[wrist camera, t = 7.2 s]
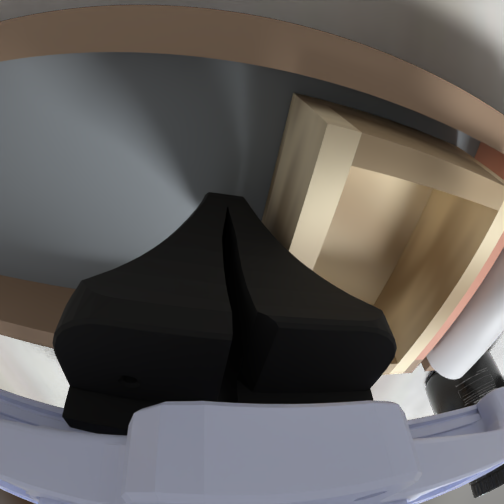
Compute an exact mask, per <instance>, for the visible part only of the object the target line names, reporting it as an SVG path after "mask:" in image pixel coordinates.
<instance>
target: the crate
mask: <svg viewBox="0 0 504 504" xmlns="http://www.w3.org/2000/svg"><path fill="white" fill-rule="evenodd" d="M261 222H262V223H263V224H264V225H265V227H266V228H267V229H268V230H269V231H270V232H271V234H272V235H273V236H274V237H275V238H276V239H277V240H278V241H279V242H280V243H281V244H282V245H283V246H284V247H285V248H286V249H287V250H288V251H289V252H290V253H291V254H293V255H294V256H295V257H296V258H297V259H298V260H299V261H301V262H302V263H303V264H304V265H306V266H307V267H308V268H310V269H311V270H312V271H314V272H315V273H316V274H318V275H319V276H321V277H322V278H324V279H325V280H327V281H328V282H330V283H331V284H333V285H335V286H336V287H338V288H340V289H341V290H343V291H345V292H346V293H348V294H350V295H352V296H354V297H356V298H358V299H360V300H362V301H364V302H366V303H368V304H370V305H372V306H374V307H376V308H378V309H381V310H382V311H383V313H384V315H385V317H386V320H387V322H388V324H389V326H390V329H391V331H392V333H393V336H394V338H395V341H396V346H397V349H396V353H395V357H394V359H393V360H392V362H391V363H390V365H389V366H388V368H387V369H386V370H385V372H384V373H383V374H382V375H387V374H401V373H404V372H405V371H406V369H407V368H408V367H409V366H410V365H411V364H412V363H413V361H414V360H415V359H416V358H417V357H418V355H419V354H420V353H421V352H422V351H423V349H424V348H425V347H426V346H427V345H428V343H429V342H430V341H431V340H432V338H433V337H434V336H435V334H436V333H437V332H438V331H439V329H440V328H441V327H442V325H443V324H444V323H445V321H446V320H447V319H448V317H449V316H450V315H451V313H452V312H453V311H454V309H455V308H456V306H457V305H458V304H459V302H460V301H461V299H462V298H463V296H464V295H465V293H466V292H467V290H468V289H469V288H470V286H471V284H472V283H473V281H474V280H475V278H476V277H477V275H478V274H479V272H480V271H481V269H482V267H483V266H484V264H485V262H486V261H487V259H488V258H489V256H490V254H491V252H492V251H493V249H494V247H495V246H496V244H497V242H498V240H499V239H500V237H501V235H502V233H503V231H504V180H503V179H502V178H500V177H499V176H498V175H497V174H495V173H494V172H493V171H491V170H490V169H489V168H487V167H486V166H485V165H483V164H482V163H480V162H479V161H478V160H476V159H475V158H473V157H472V156H471V155H469V154H468V153H466V152H465V151H463V150H462V149H460V148H459V147H457V146H455V145H453V144H450V143H448V142H446V141H443V140H441V139H439V138H436V137H434V136H431V135H429V134H426V133H424V132H421V131H419V130H416V129H413V128H411V127H408V126H405V125H403V124H400V123H397V122H394V121H391V120H388V119H385V118H382V117H379V116H376V115H373V114H370V113H367V112H364V111H361V110H357V109H354V108H351V107H347V106H344V105H340V104H337V103H333V102H329V101H325V100H322V99H318V98H314V97H310V96H306V95H301V94H297V93H293V96H292V100H291V104H290V108H289V112H288V116H287V120H286V124H285V128H284V132H283V136H282V140H281V144H280V149H279V153H278V157H277V161H276V165H275V169H274V173H273V177H272V181H271V185H270V189H269V193H268V197H267V201H266V205H265V209H264V213H263V217H262V221H261Z"/></svg>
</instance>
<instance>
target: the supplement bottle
mask: <svg viewBox="0 0 504 504" xmlns="http://www.w3.org/2000/svg"><path fill="white" fill-rule="evenodd" d="M501 387H504V379H503V377H502V375H501V373H500V371H499V369H498V367H497V365H496V363H495V361H494V359H493V357H492V356H491V354H490V352H489V351H488V350H487V351H486V352H485V353H484V354H483V355H482V356H481V357H480V358H479V359H478V361H477V362H476V363H475V364H474V365H473V366H472V367H471V368H470V369H469V370H468V371H467V372H466V373H465V374H464V375H463V376H462V377H461V378H459V379H448V378H445V377H443V376H442V375H440V374H439V373H438V372H435V373H434V374H433V375H432V376H431V377H430V378H429V380H428V382H427V385H426V393H427V396H428V399H429V402H430V404H431V407H432V410H433V412H434V415H436V414H441V413H445V412H449V411H453V410H457V409H461V408H465V407H469V406H472V405H476V404H477V403H478V401H479V400H480V399H482V398H483V397H484V396H485V395H486V394H488V393H489V392H491V391H492V390H494V389H497V388H501ZM503 484H504V464H502V465H501V466H499V467H497V468H496V469H494V470H492V471H491V472H489V473H487V474H485V475H483V476H481V477H479V478H477V479H475V480H473V481H471V482H469V485H471V489H472V492H473V495H474V498H476V497H479V496H481V495H484V494H486V493H488V492H490V491H492V490H494V489H495V488H497V487H499V486H501V485H503Z"/></svg>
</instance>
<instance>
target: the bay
mask: <svg viewBox="0 0 504 504" xmlns="http://www.w3.org/2000/svg"><path fill="white" fill-rule="evenodd" d="M293 93H297V94H301V95H306V96H310V97H314V98H318V99H322V100H325V101H329V102H333V103H337V104H340V105H344V106H347V107H351V108H354V109H357V110H361V111H364V112H367V113H370V114H373V115H376V116H379V117H382V118H385V119H388V120H391V121H394V122H397V123H400V124H403V125H405V126H408V127H411V128H413V129H416V130H419V131H421V132H424V133H426V134H429V135H431V136H434V137H436V138H439V139H441V140H443V141H446V142H448V143H450V144H453V145H455V146H457V147H459V148H460V149H462V150H463V151H465V152H466V153H468V154H469V155H471V156H472V157H473V158H475V159H476V160H478V161H479V162H480V163H482V164H483V165H485V166H486V167H487V168H489V169H490V170H491V171H493V172H494V173H495V174H497V175H498V176H499V177H500V178H502V179H503V180H504V115H503V114H502V113H500V112H499V111H497V110H496V109H494V108H492V107H491V106H489V105H488V104H486V103H484V102H483V101H481V100H480V99H478V98H476V97H475V96H473V95H471V94H469V93H468V92H466V91H464V90H462V89H461V88H459V87H457V86H455V85H453V84H451V83H450V82H448V81H446V80H444V79H442V78H440V77H438V76H436V75H434V74H432V73H430V72H428V71H426V70H424V69H422V68H419V67H417V66H415V65H413V64H411V63H408V62H406V61H404V60H402V59H399V58H397V57H395V56H392V55H390V54H387V53H385V52H382V51H380V50H377V49H374V48H372V47H369V46H366V45H364V44H361V43H358V42H355V41H352V40H349V39H346V38H343V37H340V36H337V35H334V34H330V33H327V32H324V31H320V30H317V29H313V28H309V27H306V26H302V25H298V24H294V23H289V22H285V21H281V20H276V19H271V18H266V17H261V16H256V15H250V14H244V13H238V12H231V11H224V10H216V9H208V8H198V7H185V6H169V5H110V6H94V7H82V8H72V9H64V10H57V11H50V12H44V13H38V14H32V15H27V16H22V17H17V18H13V19H8V20H4V21H0V334H1V335H4V336H8V337H11V338H15V339H19V340H22V341H26V342H30V343H34V344H38V345H42V346H46V347H50V348H53V344H52V342H53V337H54V332H55V330H56V328H57V325H58V323H59V320H60V318H61V316H62V313H63V311H64V309H65V306H66V304H67V303H68V301H69V299H70V297H71V296H72V294H73V293H74V291H75V290H76V288H77V286H78V285H79V283H80V282H81V280H84V279H87V278H90V277H93V276H95V275H98V274H101V273H104V272H107V271H109V270H112V269H114V268H117V267H119V266H121V265H123V264H126V263H128V262H130V261H132V260H134V259H136V258H138V257H140V256H141V255H143V254H145V253H146V252H148V251H149V250H151V249H153V248H154V247H156V246H157V245H159V244H160V243H161V242H163V241H164V240H165V239H166V238H168V237H169V236H170V235H171V234H172V233H173V232H175V231H176V230H177V229H178V228H179V227H180V226H181V225H182V224H183V223H184V222H185V221H186V220H187V219H188V218H189V217H190V215H191V214H192V213H193V212H194V211H195V210H196V208H197V207H198V206H199V204H200V203H201V202H202V200H203V198H204V196H205V194H207V193H208V192H213V193H220V194H228V195H235V196H242V197H244V198H245V199H246V201H247V202H248V204H249V205H250V207H251V208H252V209H253V211H254V212H255V214H256V215H257V216H258V218H259V219H260V220H261V221H262V217H263V213H264V209H265V205H266V201H267V197H268V193H269V189H270V185H271V181H272V177H273V173H274V169H275V165H276V161H277V157H278V153H279V149H280V144H281V140H282V136H283V132H284V128H285V124H286V120H287V116H288V112H289V108H290V104H291V100H292V96H293ZM503 331H504V231H503V233H502V235H501V237H500V239H499V240H498V242H497V244H496V246H495V247H494V249H493V251H492V252H491V254H490V256H489V258H488V259H487V261H486V262H485V264H484V266H483V267H482V269H481V271H480V272H479V274H478V275H477V277H476V278H475V280H474V281H473V283H472V284H471V286H470V288H469V289H468V290H467V292H466V293H465V295H464V296H463V298H462V299H461V301H460V302H459V304H458V305H457V306H456V308H455V309H454V311H453V312H452V313H451V315H450V316H449V317H448V319H447V320H446V321H445V323H444V324H443V325H442V327H441V328H440V329H439V331H438V332H437V333H436V334H435V336H434V337H433V338H432V340H431V341H430V342H429V343H428V345H427V346H426V347H425V348H424V349H423V351H422V352H421V353H420V354H419V355H418V357H417V358H416V359H415V360H414V361H413V363H412V364H411V365H410V366H409V367H408V368H407V369H406V371H405V372H404V373H412V372H413V371H414V369H415V368H416V367H417V366H418V365H419V364H420V363H422V366H423V368H424V370H425V371H433V370H435V371H436V372H438V373H439V374H440V375H442V376H443V377H445V378H448V379H459V378H461V377H462V376H463V375H464V374H465V373H466V372H467V371H468V370H469V369H470V368H471V367H472V366H473V365H474V364H475V363H476V362H477V361H478V359H479V358H480V357H481V356H482V355H483V354H484V353H485V352H486V351H487V350H488V348H489V347H490V346H491V345H492V344H493V343H494V342H495V340H496V339H497V338H498V337H499V336H500V334H501V333H502V332H503Z"/></svg>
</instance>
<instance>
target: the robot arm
mask: <svg viewBox="0 0 504 504" xmlns="http://www.w3.org/2000/svg"><path fill="white" fill-rule="evenodd" d="M52 344H53V348H54V352H55V355H56V357H57V359H58V361H59V364H60V366H61V368H62V370H63V372H64V374H65V376H66V378H67V380H68V382H69V385H70V387H69V391H68V394H67V398H66V402H65V406H64V408H60V407H56V406H53V405H49V404H45V403H42V402H38V401H35V400H32V399H29V398H25V397H22V396H19V395H16V394H13V393H10V392H7V391H4V390H2V389H0V489H2V490H4V491H7V492H9V493H11V494H14V495H16V496H19V497H21V498H23V499H25V500H28V501H31V502H33V503H36V504H419V503H421V502H424V501H427V500H430V499H432V498H435V497H437V496H440V495H442V494H444V493H447V492H449V491H451V490H454V489H456V488H458V487H460V486H463V485H465V484H467V483H469V482H471V481H473V480H475V479H477V478H479V477H481V476H483V475H485V474H487V473H489V472H491V471H492V470H494V469H496V468H497V467H499V466H501V465H502V464H504V387H501V388H497V389H494V390H492V391H491V392H489V393H488V394H486V395H485V396H484V397H483V398H482V399H480V400H479V401H478V403H477V404H476V405H472V406H469V407H465V408H461V409H457V410H453V411H449V412H445V413H441V414H436V415H432V416H427V417H422V418H417V419H412V420H407V419H406V416H405V413H404V411H403V410H402V409H401V407H400V406H399V405H398V404H396V403H393V402H388V401H373V397H372V393H371V390H370V388H371V387H372V386H373V384H374V383H375V382H376V381H377V380H378V379H379V378H380V376H381V375H382V374H383V373H384V372H385V370H386V369H387V368H388V366H389V365H390V363H391V362H392V360H393V359H394V357H395V353H396V349H397V346H396V341H395V338H394V336H393V333H392V331H391V329H390V326H389V324H388V322H387V320H386V317H385V315H384V313H383V311H382V310H381V309H378V308H376V307H374V306H372V305H370V304H368V303H366V302H364V301H362V300H360V299H358V298H356V297H354V296H352V295H350V294H348V293H346V292H345V291H343V290H341V289H340V288H338V287H336V286H335V285H333V284H331V283H330V282H328V281H327V280H325V279H324V278H322V277H321V276H319V275H318V274H316V273H315V272H314V271H312V270H311V269H310V268H308V267H307V266H306V265H304V264H303V263H302V262H301V261H299V260H298V259H297V258H296V257H295V256H294V255H293V254H291V253H290V252H289V251H288V250H287V249H286V248H285V247H284V246H283V245H282V244H281V243H280V242H279V241H278V240H277V239H276V238H275V237H274V236H273V235H272V234H271V232H270V231H269V230H268V229H267V228H266V227H265V225H264V224H263V223H262V222H261V220H260V219H259V218H258V216H257V215H256V214H255V212H254V211H253V209H252V208H251V207H250V205H249V204H248V202H247V201H246V199H245V198H244V197H242V196H235V195H228V194H220V193H213V192H208V193H207V194H205V196H204V198H203V200H202V202H201V203H200V204H199V206H198V207H197V208H196V210H195V211H194V212H193V213H192V214H191V215H190V217H189V218H188V219H187V220H186V221H185V222H184V223H183V224H182V225H181V226H180V227H179V228H178V229H177V230H176V231H175V232H173V233H172V234H171V235H170V236H169V237H168V238H166V239H165V240H164V241H163V242H161V243H160V244H159V245H157V246H156V247H154V248H153V249H151V250H149V251H148V252H146V253H145V254H143V255H141V256H140V257H138V258H136V259H134V260H132V261H130V262H128V263H126V264H123V265H121V266H119V267H117V268H114V269H112V270H109V271H107V272H104V273H101V274H98V275H95V276H93V277H90V278H87V279H84V280H81V282H80V283H79V285H78V286H77V288H76V290H75V291H74V293H73V294H72V296H71V297H70V299H69V301H68V303H67V304H66V306H65V309H64V311H63V313H62V316H61V318H60V320H59V323H58V325H57V328H56V330H55V332H54V337H53V342H52Z"/></svg>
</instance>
